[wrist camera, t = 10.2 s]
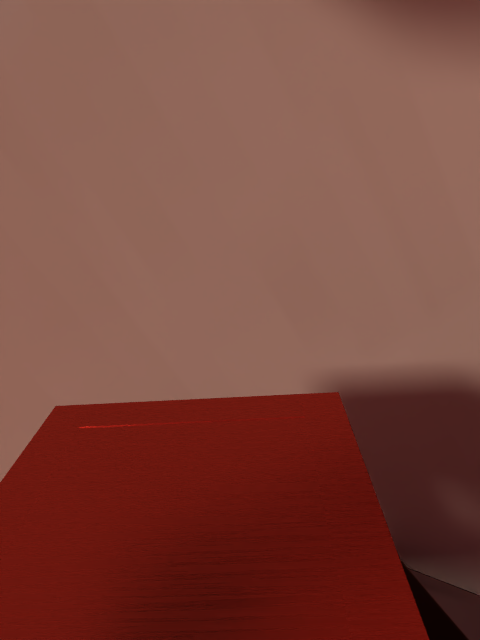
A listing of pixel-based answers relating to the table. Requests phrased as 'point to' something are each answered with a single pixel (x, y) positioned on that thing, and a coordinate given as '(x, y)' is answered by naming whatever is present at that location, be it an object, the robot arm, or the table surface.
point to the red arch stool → (199, 526)
